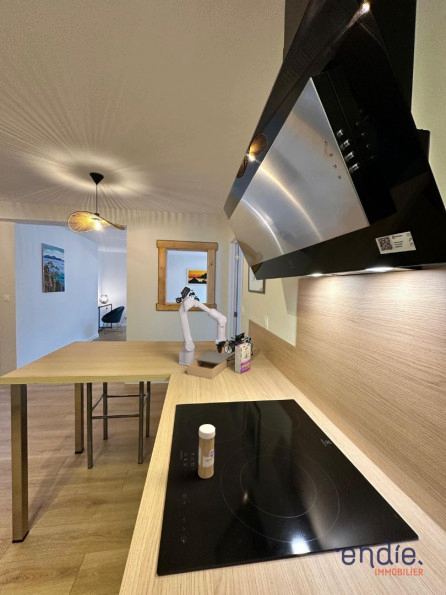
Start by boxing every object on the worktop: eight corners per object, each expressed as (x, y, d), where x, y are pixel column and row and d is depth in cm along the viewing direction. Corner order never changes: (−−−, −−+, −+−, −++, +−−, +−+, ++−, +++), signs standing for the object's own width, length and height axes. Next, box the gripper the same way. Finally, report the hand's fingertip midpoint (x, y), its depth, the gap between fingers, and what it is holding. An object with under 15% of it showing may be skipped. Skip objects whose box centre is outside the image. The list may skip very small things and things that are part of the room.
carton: (187, 374, 148) (187, 365, 148) (204, 363, 168) (204, 355, 168) (212, 379, 142) (212, 369, 142) (226, 367, 162) (226, 358, 162)
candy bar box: (243, 367, 163) (244, 342, 162) (250, 369, 160) (251, 343, 159) (233, 372, 154) (234, 345, 153) (240, 374, 151) (241, 347, 150)
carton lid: (195, 359, 157) (195, 353, 157) (210, 351, 178) (210, 345, 178) (220, 363, 151) (220, 357, 151) (232, 354, 172) (233, 348, 172)
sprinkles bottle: (209, 481, 70) (211, 434, 69) (195, 476, 71) (196, 430, 71) (216, 470, 74) (217, 425, 73) (202, 465, 76) (203, 422, 75)
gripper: (222, 335, 164) (221, 355, 165) (230, 331, 177) (229, 350, 178) (212, 333, 166) (211, 354, 167) (220, 330, 180) (220, 349, 181)
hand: (220, 352), depth 173 cm, fingers closed on carton lid, 2 cm apart
